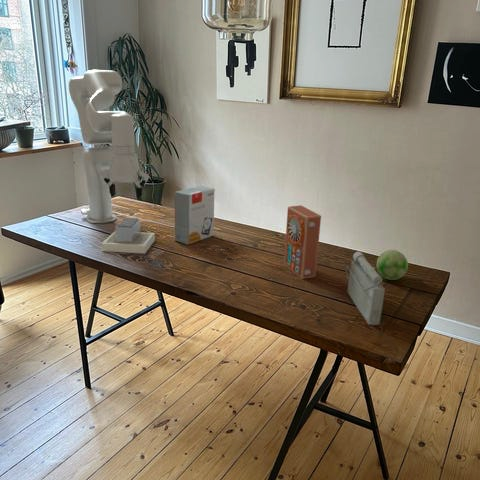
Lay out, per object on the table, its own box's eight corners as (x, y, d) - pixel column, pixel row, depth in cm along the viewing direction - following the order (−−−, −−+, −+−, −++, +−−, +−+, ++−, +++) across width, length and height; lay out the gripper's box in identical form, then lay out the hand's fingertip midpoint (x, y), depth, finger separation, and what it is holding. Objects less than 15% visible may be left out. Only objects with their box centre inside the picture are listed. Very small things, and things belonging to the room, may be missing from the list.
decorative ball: (371, 280, 150) (375, 252, 146) (379, 270, 158) (383, 243, 154) (401, 288, 145) (406, 259, 142) (408, 277, 153) (413, 249, 150)
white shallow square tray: (102, 251, 167) (101, 243, 166) (115, 238, 180) (114, 230, 179) (144, 253, 166) (144, 245, 165) (154, 240, 179) (154, 233, 178)
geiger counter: (391, 278, 118) (360, 244, 142) (367, 278, 118) (340, 244, 141) (383, 325, 123) (354, 284, 147) (360, 325, 123) (335, 284, 146)
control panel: (301, 281, 148) (280, 263, 160) (320, 278, 150) (297, 261, 163) (307, 218, 140) (283, 205, 153) (326, 216, 143) (301, 203, 156)
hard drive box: (188, 245, 175) (187, 195, 168) (174, 241, 179) (172, 191, 172) (214, 235, 186) (214, 188, 179) (200, 231, 191) (200, 184, 184)
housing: (125, 233, 177) (124, 217, 175) (140, 234, 176) (139, 218, 174) (116, 242, 168) (115, 225, 165) (132, 243, 167) (131, 226, 165)
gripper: (95, 150, 157) (99, 198, 164) (144, 153, 156) (146, 201, 163) (103, 146, 164) (106, 192, 171) (150, 149, 163) (152, 195, 169)
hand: (126, 196), depth 167 cm, fingers open, 9 cm apart
